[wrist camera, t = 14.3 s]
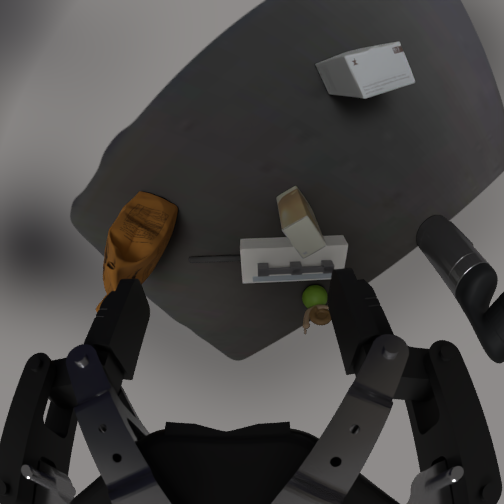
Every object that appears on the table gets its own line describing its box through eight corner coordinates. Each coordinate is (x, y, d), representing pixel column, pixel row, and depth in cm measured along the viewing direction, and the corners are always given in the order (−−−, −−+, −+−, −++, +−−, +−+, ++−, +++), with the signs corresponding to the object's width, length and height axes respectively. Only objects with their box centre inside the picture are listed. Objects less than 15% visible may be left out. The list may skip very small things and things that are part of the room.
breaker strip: (343, 235, 55) (348, 245, 52) (338, 267, 59) (342, 278, 56) (185, 241, 55) (182, 252, 52) (192, 273, 60) (189, 285, 57)
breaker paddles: (331, 259, 54) (334, 265, 52) (330, 267, 54) (333, 273, 52) (257, 263, 54) (257, 268, 52) (257, 270, 55) (257, 276, 52)
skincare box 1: (313, 210, 52) (328, 247, 42) (293, 222, 53) (303, 261, 43) (295, 183, 49) (308, 215, 39) (274, 196, 50) (281, 230, 40)
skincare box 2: (328, 94, 40) (361, 103, 28) (312, 62, 37) (341, 56, 25) (372, 79, 38) (418, 85, 26) (358, 47, 35) (401, 40, 23)
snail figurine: (295, 281, 61) (303, 323, 51) (325, 278, 61) (337, 319, 51) (296, 300, 64) (303, 341, 55) (324, 296, 64) (335, 337, 54)
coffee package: (118, 233, 54) (70, 310, 36) (139, 182, 48) (82, 250, 30) (160, 254, 57) (128, 339, 39) (186, 207, 51) (154, 287, 33)
